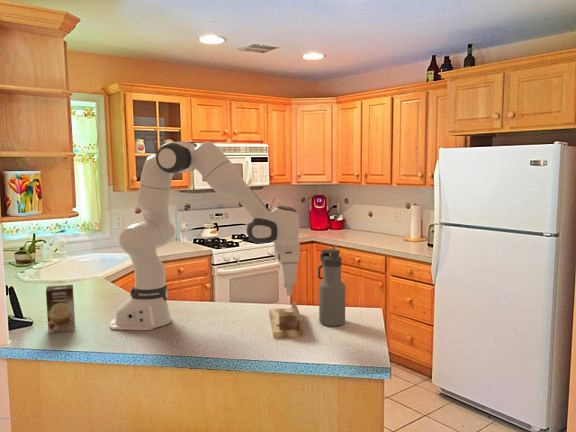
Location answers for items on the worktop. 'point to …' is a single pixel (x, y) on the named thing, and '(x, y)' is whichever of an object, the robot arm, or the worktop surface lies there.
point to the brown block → (287, 321)
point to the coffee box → (60, 308)
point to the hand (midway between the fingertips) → (287, 291)
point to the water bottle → (331, 289)
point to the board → (275, 321)
